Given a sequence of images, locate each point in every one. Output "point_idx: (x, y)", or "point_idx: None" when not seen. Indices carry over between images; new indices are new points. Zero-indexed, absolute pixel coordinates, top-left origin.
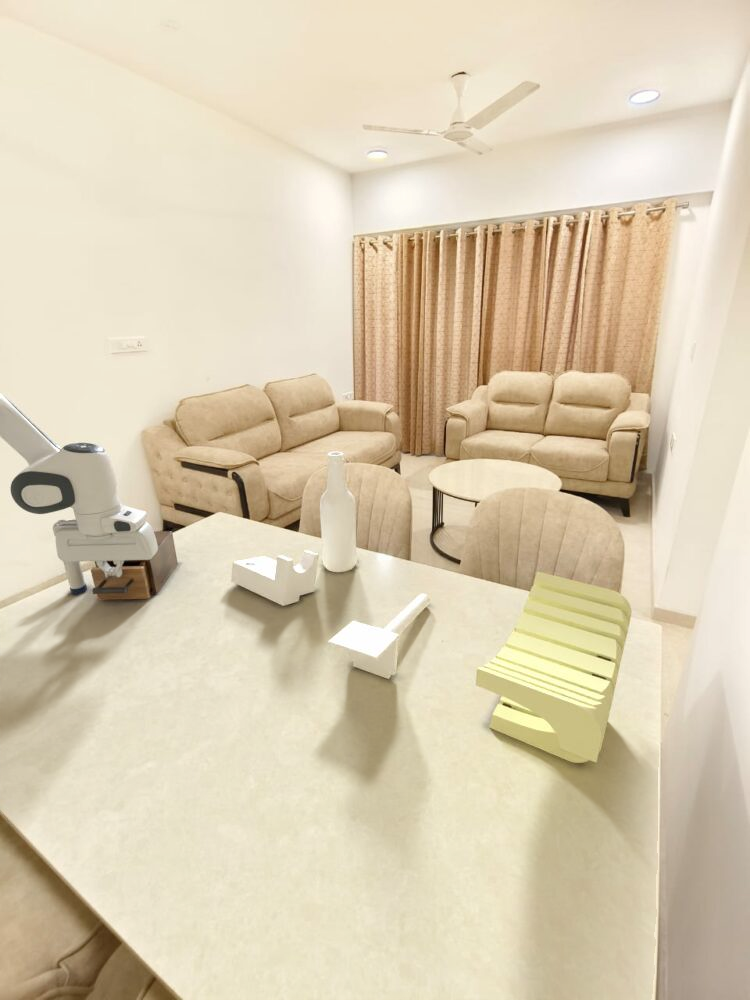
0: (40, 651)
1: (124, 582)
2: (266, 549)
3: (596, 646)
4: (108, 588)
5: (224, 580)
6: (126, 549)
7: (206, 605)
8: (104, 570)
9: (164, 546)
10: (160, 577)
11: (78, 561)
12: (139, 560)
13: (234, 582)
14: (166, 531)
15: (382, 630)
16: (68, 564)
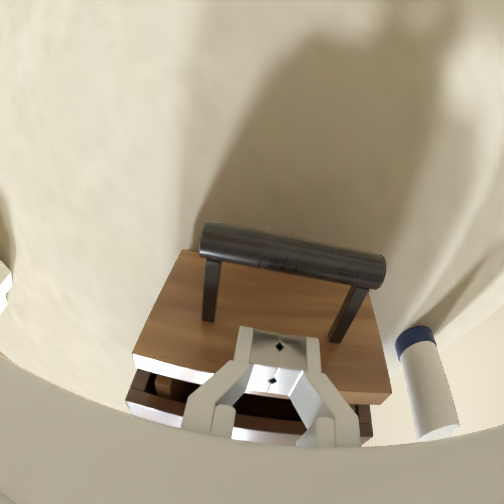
0: (485, 39)
1: (249, 317)
2: (42, 361)
3: None
4: (299, 261)
5: (42, 290)
6: (54, 483)
7: (23, 187)
8: (317, 377)
9: None
10: None
11: (457, 436)
12: (173, 404)
13: (2, 263)
14: None
15: None
16: (448, 412)
